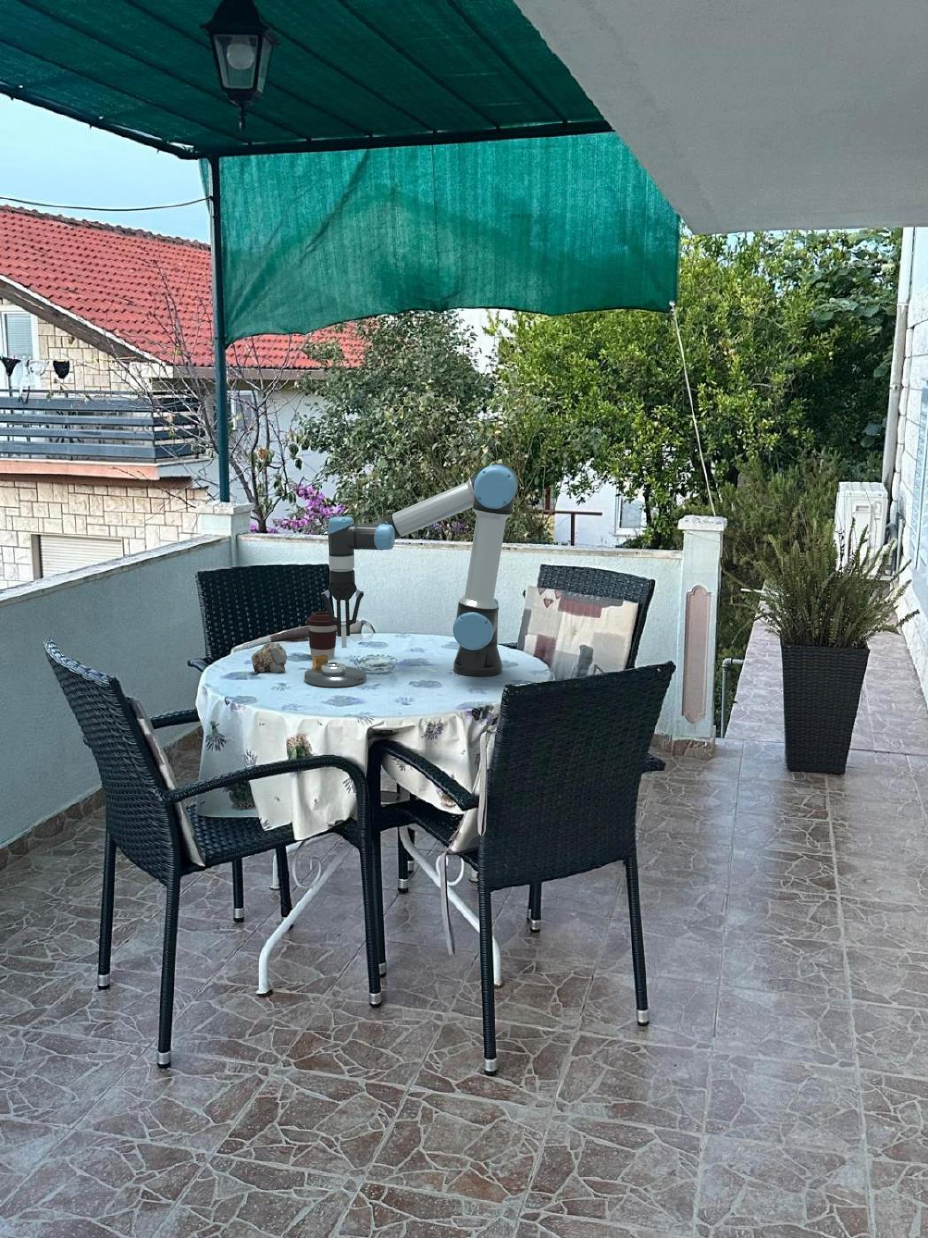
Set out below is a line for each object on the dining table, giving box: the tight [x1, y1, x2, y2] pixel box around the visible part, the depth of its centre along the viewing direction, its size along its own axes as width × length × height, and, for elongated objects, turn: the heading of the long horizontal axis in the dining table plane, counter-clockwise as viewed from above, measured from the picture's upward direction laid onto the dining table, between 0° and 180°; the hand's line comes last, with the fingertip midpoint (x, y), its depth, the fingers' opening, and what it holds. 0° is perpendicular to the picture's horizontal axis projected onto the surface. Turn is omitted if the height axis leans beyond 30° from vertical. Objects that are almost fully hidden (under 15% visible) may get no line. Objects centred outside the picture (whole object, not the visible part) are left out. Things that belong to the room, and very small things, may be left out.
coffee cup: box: [306, 611, 337, 661], centre depth 368 cm, size 10×10×15 cm
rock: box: [250, 641, 288, 675], centre depth 351 cm, size 9×12×10 cm
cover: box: [322, 661, 347, 677], centre depth 341 cm, size 7×7×3 cm
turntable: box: [303, 655, 367, 689], centre depth 342 cm, size 18×21×5 cm
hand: (344, 646), depth 350 cm, fingers closed
